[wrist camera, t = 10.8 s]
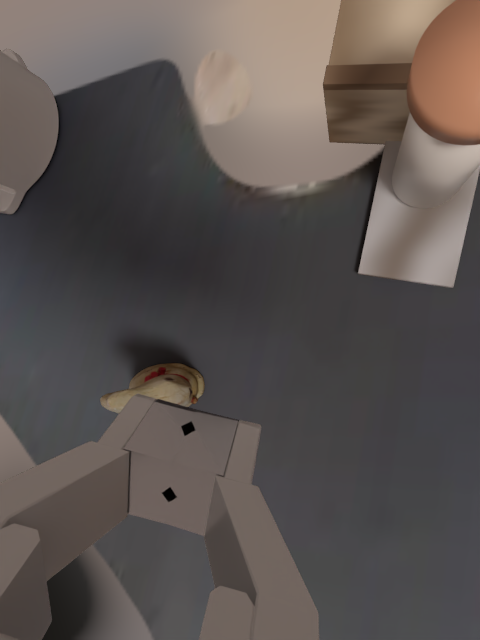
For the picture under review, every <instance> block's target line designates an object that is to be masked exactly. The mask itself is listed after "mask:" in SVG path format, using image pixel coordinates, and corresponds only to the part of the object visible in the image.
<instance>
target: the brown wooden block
mask: <svg viewBox="0 0 480 640" xmlns="http://www.w3.org/2000/svg"><path fill="white" fill-rule="evenodd" d="M454 1H456V0H341V5H340V10H339V15H338V20H337V26H336V31H335V36H334V40H333V46H332V51H331V56H330V61H329V65H327V67H326V72H325V77H324V82H323V88H324V97H325V106H326V114H327V123H328V132H329V140H330V142H337V143H363V144H385V147H384V151H383V156H382V161H381V166H380V171H379V175H378V180H377V185H376V190H375V195H374V199H373V204H372V209H371V214H370V218H369V223H368V228H367V233H366V238H365V242H364V247H363V252H362V257H361V262H360V266H359V271H358V274H361V275H368V276H375V277H381V278H388V279H395V280H401V281H408V282H415V283H421V284H428V285H435V286H442V287H448V288H452V287H453V286H454V282H455V277H456V273H457V268H458V264H459V259H460V255H461V251H462V246H463V242H464V237H465V233H466V228H467V224H468V220H469V215H470V211H471V206H472V202H473V197H474V193H475V189H476V184H477V180H478V175H479V171H480V165H479V166H478V167H477V169H476V170H475V171H474V172H473V173H472V175H471V176H470V177H469V178H468V179H467V181H466V182H465V183H464V184H463V185H462V187H461V188H460V189H459V190H458V191H457V193H456V194H455V195H454V196H453V197H452V198H451V199H449V200H448V201H447V202H445V203H443V204H441V205H439V206H436V207H432V208H415V207H412V206H409V205H407V204H405V203H404V202H402V201H401V200H400V199H399V198H398V197H397V195H396V194H395V192H394V190H393V186H392V173H393V170H394V166H395V163H396V159H397V156H398V152H399V149H400V145H401V142H402V138H403V135H404V131H405V128H406V124H407V121H408V117H409V114H410V110H409V107H408V103H407V83H408V78H409V74H410V69H411V65H412V61H413V57H414V54H415V50H416V48H417V45H418V43H419V40H420V39H421V37H422V35H423V33H424V32H425V30H426V29H427V27H428V26H429V25H430V23H431V22H432V21H433V20H434V19H435V18H436V17H437V15H439V14H440V13H441V12H442V11H443V10H444V9H445V8H446V7H448V6H449V5H450V4H452V3H453V2H454Z"/></svg>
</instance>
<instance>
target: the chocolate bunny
mask: <svg viewBox="0 0 480 640" xmlns="http://www.w3.org/2000/svg"><path fill="white" fill-rule="evenodd" d="M203 392H204V379H203V376H202V375H201V374H200V373H199V372H198V371H197V370H196V369H192V368H190V367H188V366H186V365H184V364H180V363H167V364H158V365H154V366H150V367H148V368H146V369H144V370H142V371H140V372H139V373H138V374H136V375H135V376H134V377H133V379H132V380H131V382H130V385H129V389H126V390H122V391H117V392H114V393H109V394H106V395H104V396H102V398H101V399H100V401H101V404H102V406H103V407H105V408H106V409H108V410H111V411H113V412H116V413H120V412H121V411H122V409H123V408H124V407H125V405H126V404H127V403H128V401H129V400H130V399H131V397H133V396H134V395H136V394H141V395H145V396H148V397H152V398H155V399H161V400H164V401H168V402H171V403H175V404H178V405H182V406H185V407H188V406H190V405H191V404H192V403H193V404H195V403H196V402H197V401H198V398H199V397H200V396H202V394H203Z"/></svg>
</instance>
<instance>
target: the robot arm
mask: <svg viewBox="0 0 480 640" xmlns="http://www.w3.org/2000/svg"><path fill="white" fill-rule="evenodd" d="M58 128H59V118H58V109H57V105H56V101H55V98H54V96H53V94H52V92H51V90H50V88H49V87H48V85H47V84H46V83H45V82H44V81H43V80H42V79H41V78H39V77H37V76H36V75H34V74H33V73H31V72H30V71H29V70H28V69H27V67H26V65H25V63H24V62H23V60H22V58H21V57H20V56H19V55H18V54H16V53H15V52H13V51H12V50H10V49H6V50H4V51H1V50H0V213H4V214H13V213H14V212H15V211H16V210H17V209H18V207H19V205H20V203H21V201H22V199H23V197H24V195H25V193H26V191H27V190H28V189H29V188H30V187H31V186H32V185H33V184H34V183H35V182H36V181H37V180H38V179H39V178H40V176H41V175H42V174H43V172H44V171H45V169H46V168H47V166H48V164H49V162H50V160H51V158H52V155H53V153H54V149H55V146H56V142H57V137H58ZM238 423H239V424H238ZM260 433H261V425H259V424H255V423H251V422H247V421H242V420H240V421H239V420H237V419H233V418H229V417H224V416H220V415H216V414H212V413H208V412H204V411H200V410H196V409H193V408H189V407H185V406H182V405H178V404H175V403H171V402H168V401H164V400H161V399H155V398H152V397H148V396H145V395H141V394H136V395H134V396H133V397H131V399H130V400H129V401H128V403H127V404H126V405H125V407H124V408H123V409H122V411H121V412H120V413H119V415H118V416H117V417H116V418H115V420H114V421H113V422H112V424H111V425H110V426H109V428H108V429H107V430H106V432H105V433H104V434H103V435H102V437H101V438H100V439H99V441H98V442H97V443H96V442H92V441H89V442H87V443H85V444H83V445H81V446H79V447H76V448H74V449H72V450H70V451H68V452H66V453H63V454H61V455H59V456H57V457H55V458H53V459H50V460H48V461H46V462H44V463H42V464H40V465H37V466H35V467H33V468H31V469H29V470H27V471H25V472H22V473H20V474H18V475H16V476H14V477H12V478H9V479H7V480H5V481H3V482H1V483H0V640H42V638H43V636H44V634H45V632H46V631H47V628H48V627H49V625H50V623H51V621H52V617H51V610H50V603H49V596H48V589H47V584H46V581H47V580H49V579H50V578H51V577H52V576H54V575H55V574H56V573H57V572H58V571H60V570H61V569H62V568H64V567H65V566H66V565H67V564H69V563H70V562H71V561H72V560H74V559H75V558H76V557H77V556H78V555H80V554H81V553H82V552H84V551H85V550H86V549H87V548H88V547H90V546H91V545H92V544H94V543H95V542H96V541H97V540H99V539H100V538H101V537H102V536H104V535H105V534H106V533H107V532H109V531H110V530H111V529H112V528H114V527H115V526H116V525H117V524H119V523H120V522H121V521H122V520H124V519H125V518H126V517H127V514H130V515H134V516H138V517H142V518H146V519H150V520H154V521H158V522H161V523H165V524H166V523H167V524H169V525H172V526H175V527H178V528H181V529H184V530H187V531H190V532H193V533H197V534H200V535H203V536H204V540H205V545H206V549H207V554H208V558H209V563H210V567H211V571H212V576H213V580H214V585H215V589H214V590H213V591H212V592H210V596H209V600H208V604H207V608H206V613H205V617H204V621H203V625H202V629H201V633H200V637H199V640H319V618H318V611H317V609H316V607H315V605H314V603H313V601H312V598H311V596H310V594H309V592H308V590H307V588H306V586H305V584H304V582H303V580H302V577H301V575H300V573H299V571H298V569H297V567H296V565H295V563H294V561H293V559H292V556H291V554H290V552H289V550H288V548H287V546H286V544H285V542H284V540H283V538H282V535H281V533H280V531H279V529H278V527H277V525H276V523H275V521H274V519H273V517H272V514H271V512H270V510H269V508H268V506H267V504H266V502H265V500H264V498H263V496H262V493H261V491H260V489H259V487H257V486H254V485H251V484H252V478H253V473H254V467H255V461H256V455H257V450H258V444H259V438H260Z"/></svg>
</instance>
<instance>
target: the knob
mask: <svg viewBox="0 0 480 640" xmlns="http://www.w3.org/2000/svg"><path fill="white" fill-rule="evenodd" d="M407 103H408V107H409V110H410V114H409V117H408V121H407V124H406V128H405V131H404V135H403V138H402V142H401V145H400V149H399V152H398V156H397V159H396V163H395V166H394V170H393V173H392V186H393V190H394V192H395V194H396V195H397V197H398V198H399V199H400V200H401V201H402V202H404V203H405V204H407V205H409V206H412V207H415V208H432V207H436V206H439V205H441V204H443V203H445V202H447V201H448V200H449V199H451V198H452V197H453V196H454V195H455V194H456V193H457V191H458V190H459V189H460V188H461V187H462V185H463V184H464V183H465V182H466V181H467V179H468V178H469V177H470V176H471V175H472V173H473V172H474V171H475V170H476V169H477V167H478V166H479V165H480V0H456V1H454V2H453V3H452V4H450V5H449V6H448V7H446V8H445V9H444V10H443V11H442V12H441V13H440V14H439V15H437V17H436V18H435V19H434V20H433V21H432V22H431V23H430V25H429V26H428V27H427V29H426V30H425V32H424V33H423V35H422V37H421V39H420V40H419V43H418V45H417V48H416V50H415V54H414V57H413V61H412V65H411V69H410V74H409V78H408V83H407Z"/></svg>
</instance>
